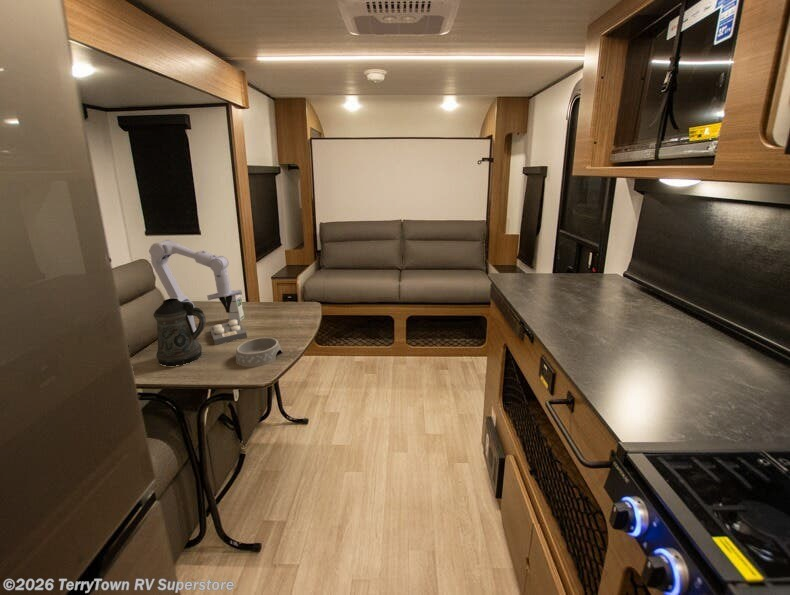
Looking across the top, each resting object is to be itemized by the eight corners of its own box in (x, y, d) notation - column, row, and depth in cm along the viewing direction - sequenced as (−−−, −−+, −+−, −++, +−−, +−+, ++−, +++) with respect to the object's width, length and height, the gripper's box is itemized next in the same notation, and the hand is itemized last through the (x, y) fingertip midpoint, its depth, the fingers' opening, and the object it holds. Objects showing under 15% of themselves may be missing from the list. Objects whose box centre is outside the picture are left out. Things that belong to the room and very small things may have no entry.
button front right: (232, 335, 185) (231, 329, 185) (231, 332, 189) (230, 326, 188) (241, 332, 187) (240, 327, 186) (240, 330, 191) (239, 324, 190)
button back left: (214, 333, 188) (213, 328, 187) (213, 331, 191) (212, 325, 191) (223, 331, 190) (222, 326, 189) (222, 329, 193) (221, 323, 192)
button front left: (215, 337, 182) (214, 331, 181) (214, 334, 185) (213, 328, 184) (225, 334, 184) (224, 329, 183) (224, 332, 187) (223, 326, 186)
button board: (215, 344, 177) (213, 339, 176) (210, 331, 193) (209, 325, 192) (247, 337, 183) (246, 331, 183) (239, 325, 199) (238, 319, 198)
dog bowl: (227, 367, 157) (225, 354, 155) (250, 347, 174) (248, 335, 172) (269, 368, 154) (267, 355, 152) (288, 347, 171) (286, 335, 170)
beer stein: (154, 358, 167) (139, 300, 159) (203, 344, 179) (192, 289, 171) (163, 372, 155) (147, 310, 147) (215, 355, 166) (203, 297, 159)
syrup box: (240, 321, 204) (235, 294, 200) (229, 322, 204) (224, 294, 200) (245, 317, 210) (240, 290, 205) (233, 318, 210) (228, 291, 205)
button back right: (230, 328, 191) (228, 323, 190) (228, 326, 194) (227, 320, 194) (238, 326, 193) (237, 321, 192) (237, 324, 196) (236, 318, 195)
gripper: (206, 288, 176) (211, 317, 180) (241, 282, 183) (245, 311, 187) (204, 284, 182) (210, 313, 186) (238, 279, 189) (243, 307, 193)
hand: (227, 312), depth 187 cm, fingers closed
